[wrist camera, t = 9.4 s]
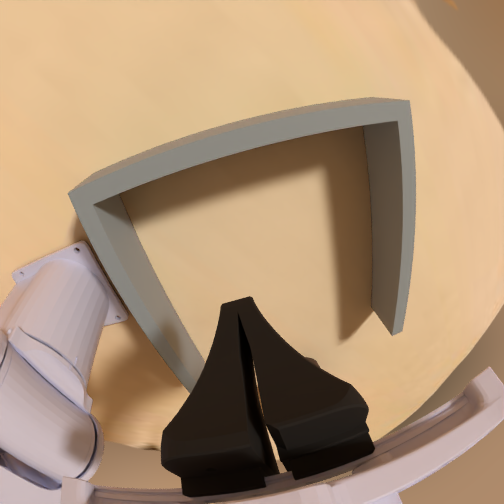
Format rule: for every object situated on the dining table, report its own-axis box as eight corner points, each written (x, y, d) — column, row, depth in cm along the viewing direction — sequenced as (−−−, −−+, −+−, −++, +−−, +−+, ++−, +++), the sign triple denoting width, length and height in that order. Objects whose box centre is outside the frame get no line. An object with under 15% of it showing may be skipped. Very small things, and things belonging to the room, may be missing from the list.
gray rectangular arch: (193, 363, 27) (195, 399, 23) (93, 173, 17) (67, 193, 13) (380, 302, 28) (402, 331, 24) (371, 97, 17) (409, 100, 13)
